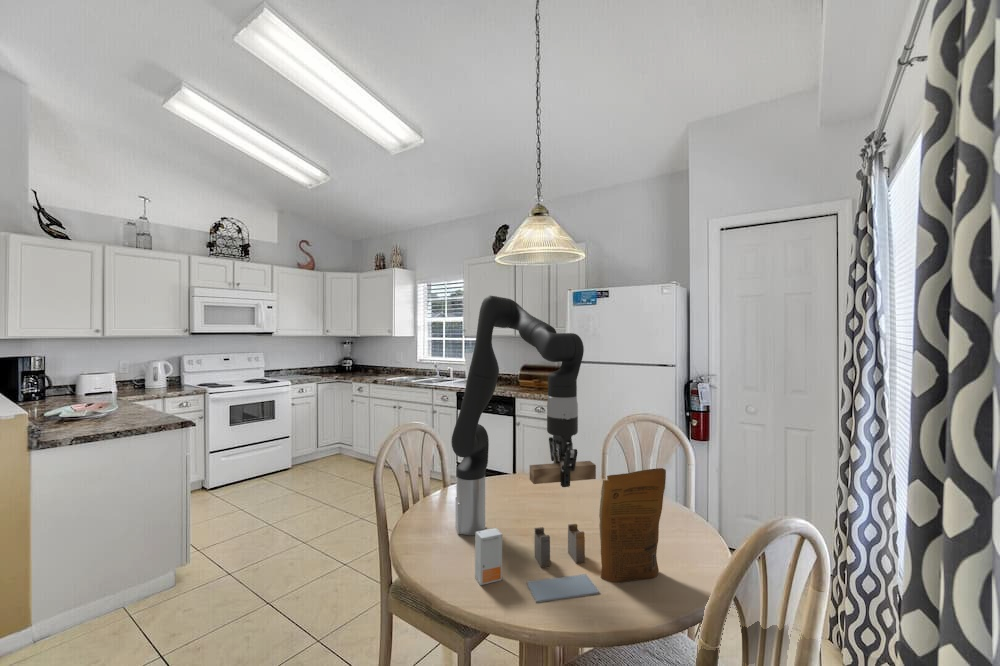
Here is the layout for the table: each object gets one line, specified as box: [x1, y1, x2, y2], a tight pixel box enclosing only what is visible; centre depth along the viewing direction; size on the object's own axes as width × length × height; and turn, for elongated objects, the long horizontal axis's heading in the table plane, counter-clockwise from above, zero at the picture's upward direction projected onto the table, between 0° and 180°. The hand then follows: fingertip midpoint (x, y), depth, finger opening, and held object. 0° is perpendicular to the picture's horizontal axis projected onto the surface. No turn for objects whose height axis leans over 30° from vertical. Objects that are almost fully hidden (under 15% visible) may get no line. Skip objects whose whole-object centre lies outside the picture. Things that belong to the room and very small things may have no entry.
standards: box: [534, 523, 586, 569], centre depth 122 cm, size 12×6×8 cm, turn 103°
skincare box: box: [474, 527, 503, 586], centre depth 113 cm, size 6×4×12 cm
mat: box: [526, 573, 601, 603], centre depth 109 cm, size 16×8×1 cm, turn 103°
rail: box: [529, 460, 597, 485], centre depth 109 cm, size 16×4×4 cm, turn 103°
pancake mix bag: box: [598, 467, 667, 583], centre depth 114 cm, size 7×19×28 cm, turn 101°
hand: (562, 483), depth 109 cm, fingers closed on rail, 3 cm apart
